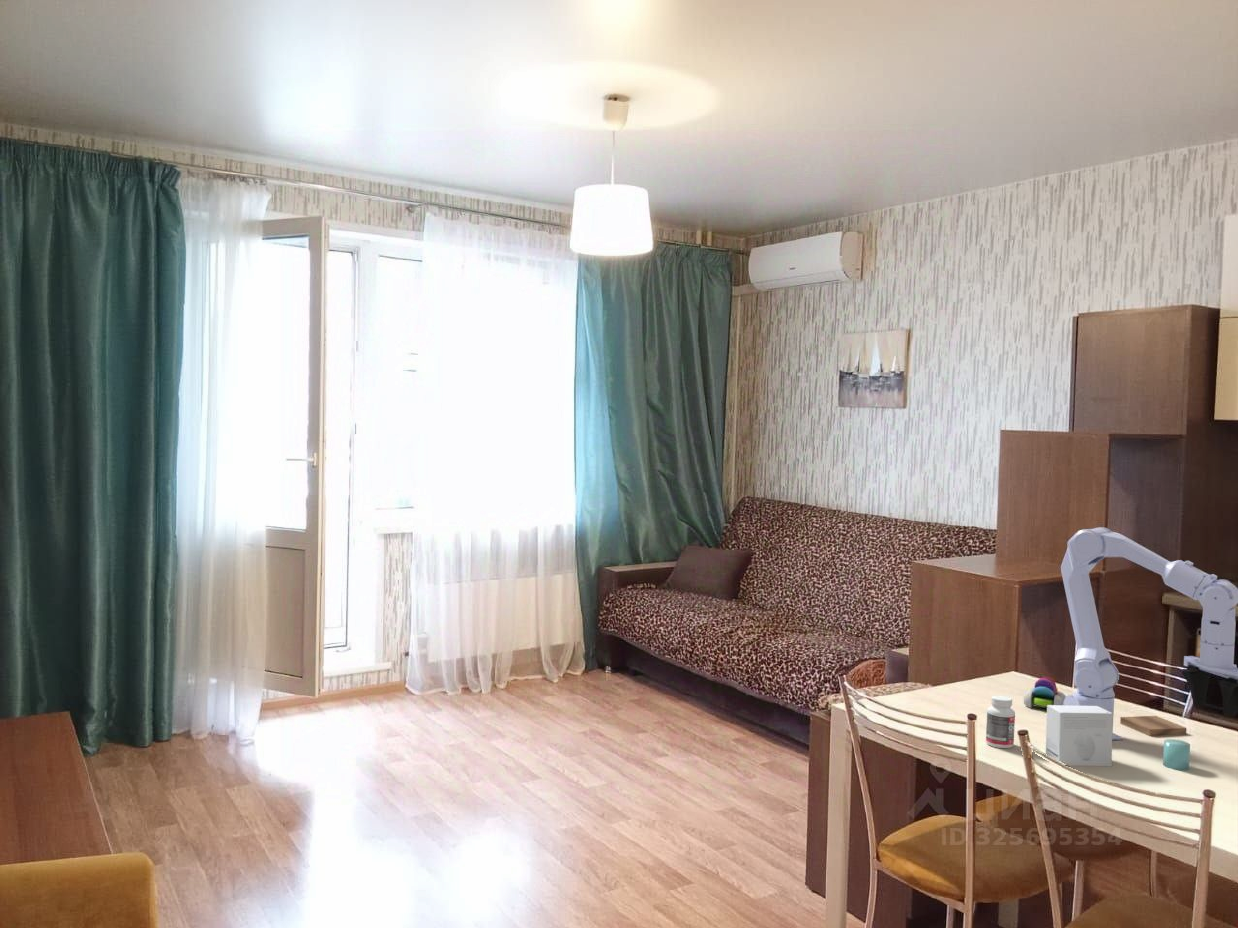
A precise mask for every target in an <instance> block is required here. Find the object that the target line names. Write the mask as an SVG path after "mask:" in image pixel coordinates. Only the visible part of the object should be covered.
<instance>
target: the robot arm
mask: <svg viewBox="0 0 1238 928" xmlns="http://www.w3.org/2000/svg"><path fill="white" fill-rule="evenodd" d="M1105 558H1123V559H1126V560H1129V562H1130V561H1131V562H1133V563H1134V564H1137V565H1139V566H1141V567H1143V568H1145V569H1146V570H1149V571H1152V572H1153V573H1156V574H1159V575H1160V576H1161V578H1162V580H1163V583H1164V584H1165V585H1166V586H1168V587H1169V588H1172V589H1173V590H1175V591H1177V592H1179V593H1182V594H1183V595H1184V596H1186V597H1188V598H1190V599H1192V600H1194V601H1199V604H1200V606H1201V607H1202V617H1201V624H1200V625H1201V628H1200V646H1199V647H1200V649H1199V657H1196V656H1194V655H1188V656H1187V655H1184V656H1183V666H1184V667H1187V668H1183V669H1181V674H1182V675H1183V677H1184V678H1185V681H1186V683H1187V684H1188V688H1189V691H1190V695H1191V701H1192V703H1193V706H1195V707H1204V706H1206V701H1207V694H1208V687H1209V683H1210V680H1211V678H1212V675H1216V676H1218V677H1219V676H1220V677H1222V678H1225V679H1221V680H1218V684H1219V688H1220V690H1221V691H1220V692H1221V694H1222V712H1223V717H1224V718H1236V716H1237V713H1238V667H1237V664H1234V663H1235V661H1234V660H1235V642H1236V626H1237V625H1236V623H1237V622H1236V616H1237V615H1236V606H1237V605H1238V587H1237V586H1236V585H1235V584H1233V583H1232V582H1231V581H1230V580H1228V579H1218V575H1216V574H1214V573H1212V574H1209V573H1207V572H1204V571H1203V570H1201V569H1199V568H1197V567H1195V566H1194V562H1192V561H1190V560H1185V561H1183V560H1182V559H1180V560H1179V559H1177V560H1174V561H1169V560H1168V559H1166V558H1164V557H1162V556H1161V555H1159V554H1157V553H1155V552H1154V551H1152V550H1150V549H1149V548H1147V547H1144V546H1143V545H1141V544H1139V543H1137V542H1135V541H1134V540H1132V539H1131V538H1128V537H1127V536H1125V535H1123V534H1121V533H1118V532H1116V531H1112V530H1110V529H1109V528H1108V527H1103V526H1102V527H1101V526H1099V527H1094V528H1088V529H1087V528H1085V529H1081V530H1078V531H1077V532H1075V534H1073V536H1072V537H1070V539H1068V541H1067V549H1066V551H1065V554H1064V557H1063V560H1062V562H1061V565H1060V573H1061V576H1062V581H1063V586H1064V590H1065V591H1064V592H1065V596H1066V600H1067V601H1066V602H1067V605H1068V610H1069V611H1068V612H1069V615H1070V620H1071V625H1072V629H1073V630H1072V631H1073V633H1074V639H1075V643H1076V648H1077V652H1076V655H1075V658H1074V664H1075V670H1074V674H1073V682H1074V685H1075V687H1076V692H1074V693H1073V694H1072V693H1071V694H1068V695H1065V696H1066V697H1065V699H1064V703H1063V705H1069V706H1099V707H1101V708H1103V709H1105V710H1107V711H1109V712H1111V713H1113V717H1114V715H1115V714H1114V711H1115V691H1114V689H1113V688H1114V687H1115V686H1116V685H1117V683H1118V682H1119V680H1120V671H1119V670H1118V668H1117V666H1116V665H1115V664H1114V662H1113V660H1112V658H1111V653H1110V652H1109V651H1108V649H1107V648H1106V647H1105V644H1104V640H1103V636H1102V629H1101V626H1100V621H1099V616H1098V612H1097V607H1096V603H1095V597H1094V594H1093V588H1092V584H1091V579H1090V572H1091V571H1092V570H1093V569H1094V567H1095V566H1096V565H1097V564H1098V563H1099V562H1100V561H1101V560H1103V559H1105ZM1122 739H1123V737H1122V736H1121V735H1118V734H1116V733H1114V723H1113V724H1112V741H1114V740H1115V741H1116V740H1119V741H1120V740H1122Z"/></svg>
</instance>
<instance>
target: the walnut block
mask: <svg viewBox="0 0 1238 928" xmlns="http://www.w3.org/2000/svg"><path fill="white" fill-rule="evenodd" d="M1119 719H1120V721H1119V722H1120V723H1119V724H1120V725H1123V726H1124V727H1127V728H1130V729H1132V730H1135V731H1136V732H1139V733H1140V734H1144V736H1145V735H1146V736H1148V737H1160V736H1161V737H1162V736H1179V735H1180V736H1181V735H1187V727H1185V726H1182V725H1179V724H1178V723H1175V722H1172V721H1170V720H1167V719H1165V718H1163V717H1160V716H1157V715H1144V716H1142V715H1141V716H1139V715H1138V716H1120V718H1119Z"/></svg>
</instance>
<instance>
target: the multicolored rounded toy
mask: <svg viewBox="0 0 1238 928" xmlns="http://www.w3.org/2000/svg"><path fill="white" fill-rule="evenodd" d="M1056 684H1057V683H1056V682H1055V681H1054V680H1053V678H1051V677H1049V676H1043V677H1040V678H1039V679H1037V680H1036V681H1035V682H1034V687H1031V688H1030V689H1028V690H1027V692H1025V694H1024V695H1023V704H1024V705H1025V707H1027V708H1028V709H1032V708H1033V707H1034V705H1037V706H1040V707H1047V705H1063V703H1064V699H1065V697H1066V696H1067V695H1066V694H1064V692H1062V691H1059V690H1058V688H1057V685H1056Z"/></svg>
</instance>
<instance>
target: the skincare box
mask: <svg viewBox="0 0 1238 928" xmlns="http://www.w3.org/2000/svg"><path fill="white" fill-rule="evenodd" d="M1112 724H1113V725H1114V716H1113V713H1111V712H1109V711H1107V710H1105V709H1103V708H1101V707H1099V706H1069V705H1047V706H1046V727H1045V728H1046V732H1045V733H1046V734H1045V755H1046V754H1047V755H1049V756H1051V757H1053V758H1055V759H1056V760H1058V761H1061V762H1062V763H1064V764H1066V765H1069V767H1070V766H1071V767H1077V766H1078V767H1112V765H1113V759H1112V758H1113V757H1112V756H1113V740H1112Z"/></svg>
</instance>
